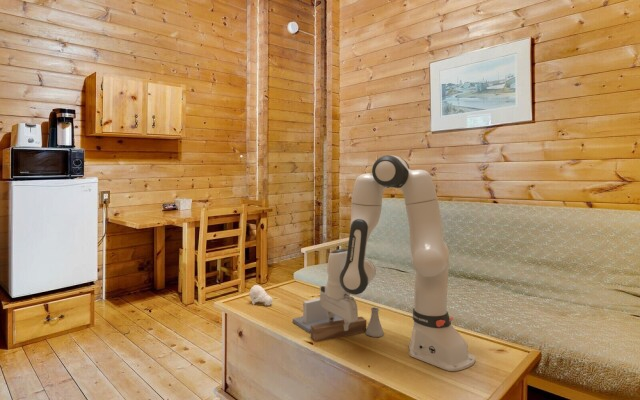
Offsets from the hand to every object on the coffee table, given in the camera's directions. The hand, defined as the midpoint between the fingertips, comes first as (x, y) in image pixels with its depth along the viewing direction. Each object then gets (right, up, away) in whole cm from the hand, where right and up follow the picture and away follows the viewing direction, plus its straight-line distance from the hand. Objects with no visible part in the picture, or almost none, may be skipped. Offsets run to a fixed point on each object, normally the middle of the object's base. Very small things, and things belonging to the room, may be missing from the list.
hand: (337, 325), depth 149 cm
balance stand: (-7, -3, +12) cm, 14 cm away
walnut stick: (0, -4, 0) cm, 4 cm away
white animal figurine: (-34, -1, +34) cm, 49 cm away
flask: (+14, -4, +1) cm, 15 cm away
